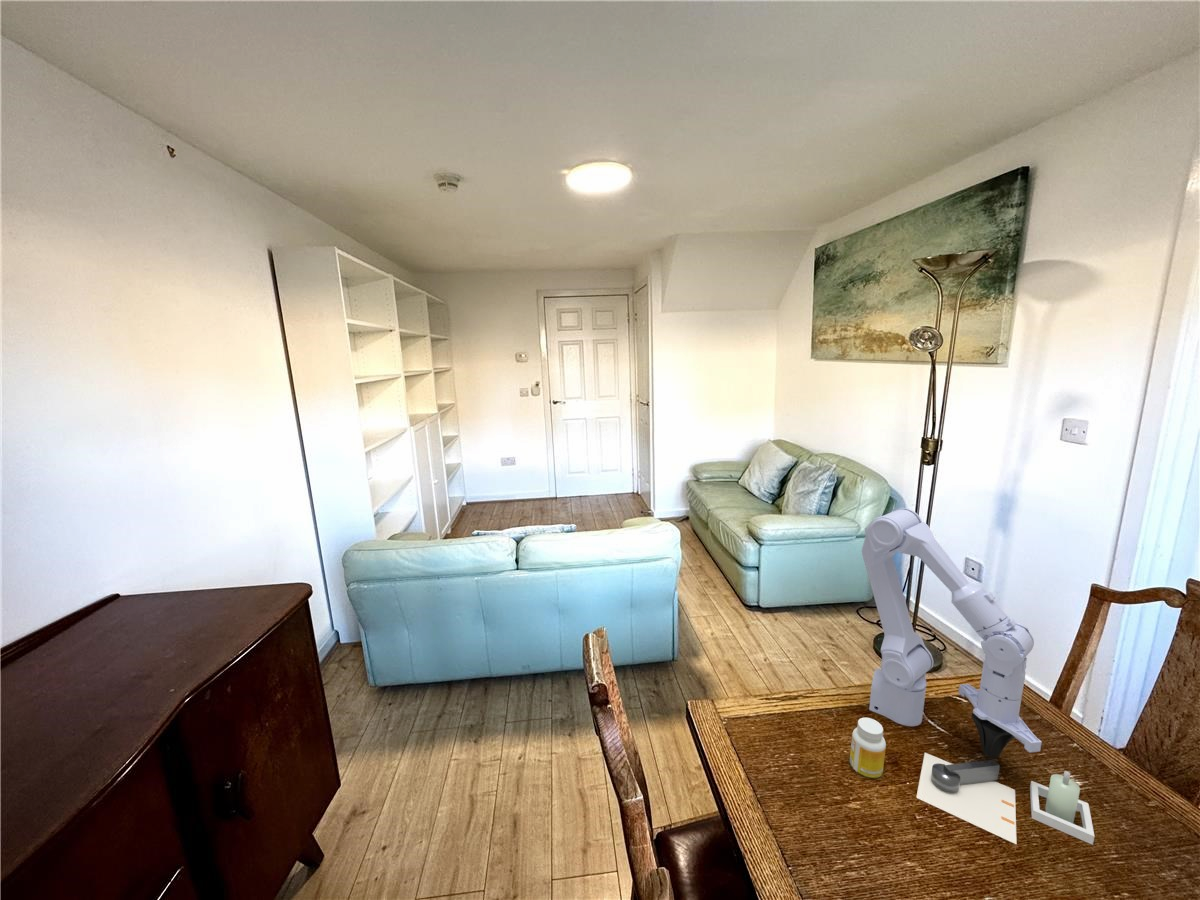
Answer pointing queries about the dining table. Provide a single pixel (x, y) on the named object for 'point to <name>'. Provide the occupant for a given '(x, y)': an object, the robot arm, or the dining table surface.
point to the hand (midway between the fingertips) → (990, 754)
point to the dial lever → (963, 774)
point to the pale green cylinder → (1062, 797)
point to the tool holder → (1058, 823)
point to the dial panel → (972, 801)
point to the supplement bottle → (868, 748)
